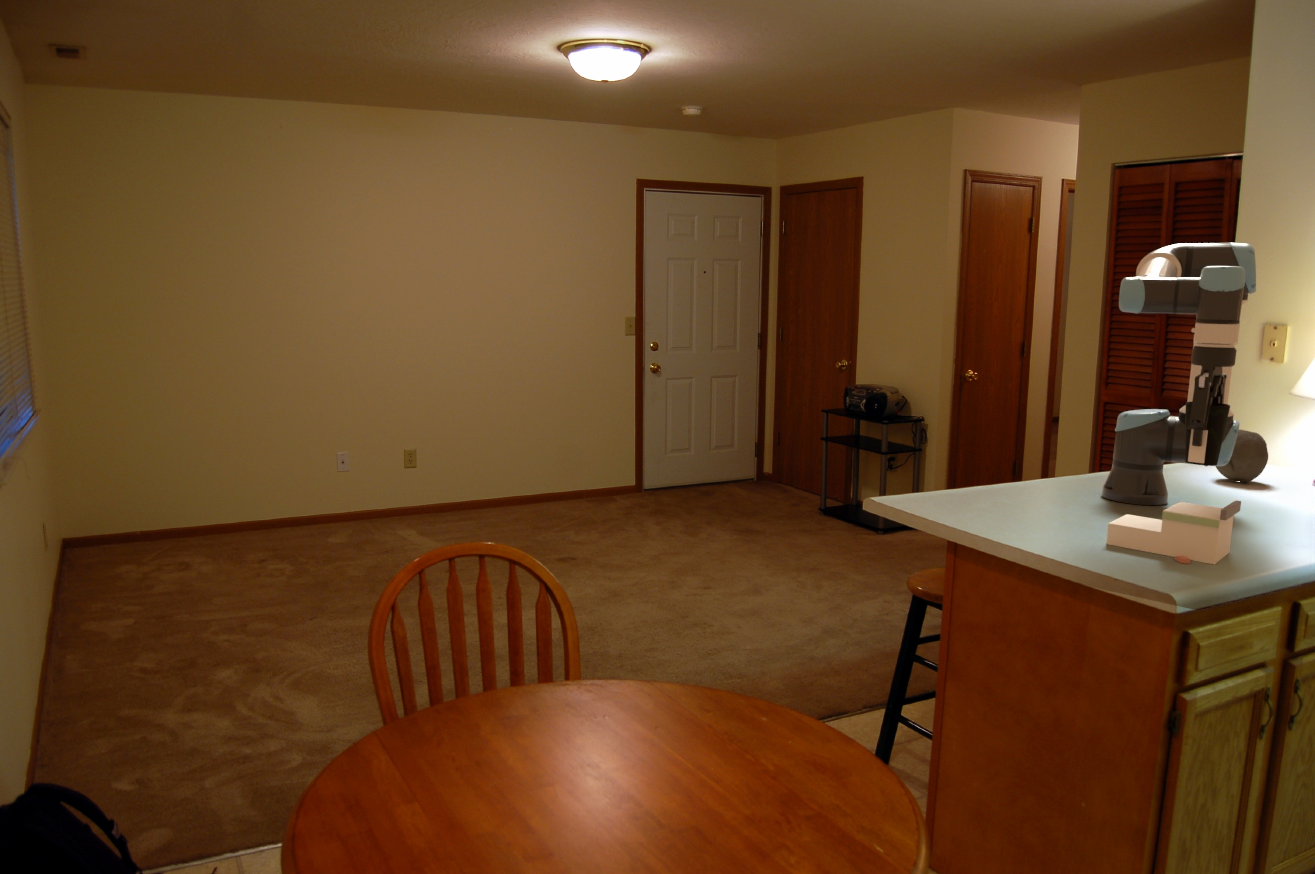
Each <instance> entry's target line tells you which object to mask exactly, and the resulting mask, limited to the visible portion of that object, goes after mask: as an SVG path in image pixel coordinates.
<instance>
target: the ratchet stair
mask: <svg viewBox="0 0 1315 874" xmlns="http://www.w3.org/2000/svg"><path fill="white" fill-rule="evenodd" d="M1241 507H1242V500H1236V499H1235V500H1234V501H1232V502H1231V503H1229V504H1227V505H1226V506H1224V507H1217V506H1210V505H1203V504H1197V503H1190V502H1184V501H1179V502H1177V503H1175V504H1173V505H1171V506H1169V507H1167V508H1166V509H1163V510H1162V512H1161V513H1162V516H1161V519H1160V518H1159V519H1158V518H1153V517H1146V516H1140V515H1134V514H1128V513H1127V514H1124V515H1122V516H1120V517H1118V518H1116V519H1114V520H1113V521H1110V522H1108V524H1107V525H1108V526H1107V534H1106V545H1110V546H1114V547H1119V548H1126V549H1130V550H1136V551H1139V552H1140V551H1141V552H1146V553H1152V554H1157V555H1164V556H1168V557H1173V558H1174V560H1175V561H1177V562H1179V563H1181V564H1191V561H1193V562H1194V561H1195V562H1199V563H1205V564H1211V565H1216V564H1217V563H1218V562H1220V561H1221V560H1222V559H1223V558H1225V557H1226V556H1227V555H1229V553H1230V549H1231V540H1232V535H1233V534H1232V532H1233V525H1234V518H1235V515H1236V514H1238V513H1239V512H1240V511H1241Z"/></svg>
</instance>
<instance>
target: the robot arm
mask: <svg viewBox="0 0 1315 874" xmlns="http://www.w3.org/2000/svg"><path fill="white" fill-rule="evenodd" d="M1255 250H1256V249H1255V248H1254V246H1253V245H1252V244H1250V243H1246V242H1245V243H1243V242H1209V243H1208V242H1203V243H1201V242H1198V243H1196V242H1195V243H1194V242H1193V243H1190V242H1189V243H1187V242H1185V243H1182V242H1181V243H1174V244H1171V245H1165V246H1163V247H1161V248H1158V249H1155V250H1153V251H1151V252H1149V253H1147V255H1145V256H1144V257H1143V258H1142V259H1141V260H1140V261H1139V263H1138V265H1137V267H1136V271H1135V276H1133V277H1132V276H1130V277H1126V276H1125V277H1123V279H1121V282H1120V287H1119V295H1118V296H1119V297H1118V308H1119V310H1120V311H1121V312H1123V313H1131V314H1132V313H1133V314H1174V315H1175V314H1176V315H1196V319H1195V325H1194V327H1192V328H1191V333H1194V334H1193V347H1192V349H1191V358H1190V362H1191V366H1190V374H1189V383H1188V384H1189V385H1188V391H1187V392H1188V394H1187V401H1186V402H1192V407H1191V414H1190V420H1189V425H1187V429H1191V438H1190V447H1189V455H1188V462H1196V463H1204V460H1205V451H1206V443H1207V434H1208V430H1206V429H1207V423H1208V418H1209V412H1210V406H1219V403H1222V404H1228V405H1229V395H1230V386H1231V378H1232V377H1231V376H1232V370H1233V367H1234V366H1235V365H1236V359H1237V351H1238V350H1237V349H1236V347H1235V346H1236V345H1238V344H1239V336H1240V335H1239V334H1240V324H1241V322H1240V321H1241V320H1240V319H1241V314H1242V313H1241V312H1242V306H1243V305H1244V304H1245V303H1246V302H1248V297H1249V295H1250V294H1254V293H1256V292H1257V265H1256V251H1255ZM1234 414H1235V413H1234V412H1233V411H1232V410H1231V409H1230V410H1229V414H1228V419H1227V423H1226V428H1225V432H1224V436H1223V441H1222V445H1221V450H1220V454H1219V459H1218V463H1217V465H1215V466H1214V467H1216V466H1225V465H1226V464H1228V462H1229V461H1230V458H1231V456H1232V453H1233V449H1234V446H1235V442H1236V439H1237V434H1238V430H1239V429H1240V421H1238V420H1237V419H1234V416H1235V415H1234ZM1185 416H1186V404H1185V405H1183V406H1182V407H1181V408H1179V412H1178V415H1175V416H1174V415H1171V413H1170V410H1169V409H1163V408H1162V409H1159V408H1151V409H1149V408H1147V409H1134V410H1128V411H1123V412H1121V413H1119V414H1118V416H1117V420H1116V426H1115V428H1114V432H1115V438H1114V447H1113V455H1112V463H1111V464H1112V465H1111V469H1110V471H1109V473H1108V475H1107V478H1106V480H1105V481H1104V484H1103V486H1102V489H1101V496H1102V497H1103V498H1105V499H1106V500H1109V501H1110V500H1111V501H1113V502H1114V501H1115V502H1119V503H1123V504H1125V503H1126V504H1131V505H1142V506H1159V505H1166V504H1167V503H1168V499H1169V491H1168V489H1167V485H1166V479H1165V477H1164V463H1165V462H1166V463H1177V464H1187V465H1188V464H1189V465H1191V464H1190V463H1186V462H1185ZM1203 466H1204V467H1207V466H1206V465H1203Z"/></svg>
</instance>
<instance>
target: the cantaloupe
mask: <svg viewBox="0 0 1315 874" xmlns="http://www.w3.org/2000/svg"><path fill="white" fill-rule="evenodd" d="M1267 446H1268V444H1267V442H1266V440H1265V439H1264V437H1263V436H1262V435H1261V434H1260V433H1258V432H1255V431H1254V432H1253V431H1250V430H1245V429H1240V428H1239V430H1238V434H1237V439H1236V442H1235V446H1234V449H1233V453H1232V456H1231V458H1230V461H1229V462H1228V464H1226V465H1225V466H1215V468H1216V470H1217V471H1218V472H1219V474H1221V475H1222V476H1223V477H1224V478H1226V479H1227V480H1229V481H1232V482H1234V481H1240V482H1244V483H1247V482H1251V481H1254V480H1255V479H1256V478H1258V477H1259V476H1260V475H1261V474H1262V473H1263V471H1264V470H1265V468H1266V466H1267V464H1268V461H1269V452H1268V447H1267Z"/></svg>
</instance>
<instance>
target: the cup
mask: <svg viewBox="0 0 1315 874" xmlns="http://www.w3.org/2000/svg"><path fill="white" fill-rule="evenodd" d="M1185 405H1186V416H1185V462H1186V463H1190V464H1189V465H1196V466H1197V465H1198V466H1204V465H1206V466H1205V467H1216V466H1215V465H1217V463H1218V459H1219V454H1220V450H1221V445H1222V441H1223V436H1224V432H1225V428H1226V423H1227V419H1228V414H1229V410H1231V409H1230V408H1231V405H1230V404H1229V403H1228V404H1222V403H1219V406H1210V412H1209V418H1208V423H1207V429H1206V430H1208V434H1207V443H1206V451H1205V460H1204V463H1196V462H1188V455H1189V447H1190V438H1191V429H1187V425H1189V420H1190V414H1191V407H1192V402H1187V401H1186V402H1185ZM1186 463H1185V464H1186Z"/></svg>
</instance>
